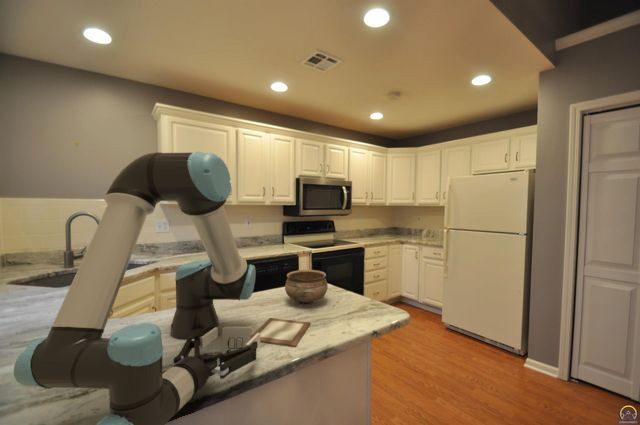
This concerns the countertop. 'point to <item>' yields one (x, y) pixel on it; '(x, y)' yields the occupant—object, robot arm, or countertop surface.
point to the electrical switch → (235, 338)
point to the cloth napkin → (282, 332)
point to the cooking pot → (306, 286)
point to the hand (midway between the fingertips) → (237, 334)
